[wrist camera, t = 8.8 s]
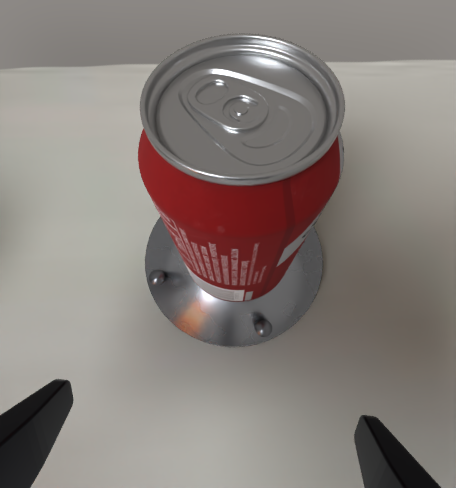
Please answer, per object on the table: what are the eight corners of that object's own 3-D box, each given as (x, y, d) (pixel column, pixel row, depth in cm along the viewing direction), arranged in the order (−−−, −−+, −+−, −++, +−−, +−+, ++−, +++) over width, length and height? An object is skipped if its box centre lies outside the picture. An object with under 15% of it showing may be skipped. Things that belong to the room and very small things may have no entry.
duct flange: (350, 308, 18) (358, 304, 17) (174, 376, 16) (169, 378, 15) (276, 169, 22) (278, 159, 21) (133, 214, 21) (127, 205, 20)
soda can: (244, 327, 16) (265, 262, 5) (166, 260, 18) (63, 108, 7) (306, 248, 18) (416, 82, 7) (231, 195, 20) (227, -4, 9)
